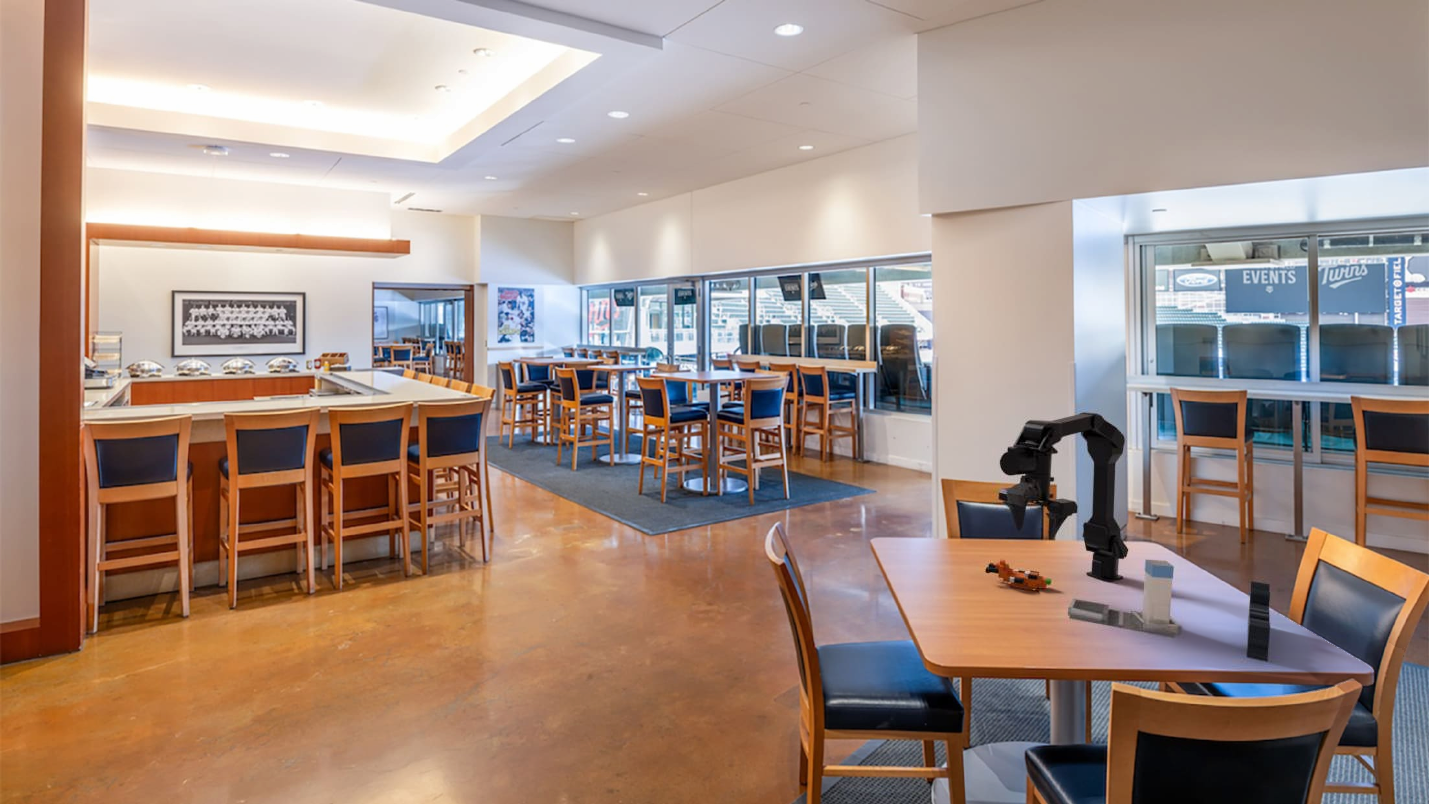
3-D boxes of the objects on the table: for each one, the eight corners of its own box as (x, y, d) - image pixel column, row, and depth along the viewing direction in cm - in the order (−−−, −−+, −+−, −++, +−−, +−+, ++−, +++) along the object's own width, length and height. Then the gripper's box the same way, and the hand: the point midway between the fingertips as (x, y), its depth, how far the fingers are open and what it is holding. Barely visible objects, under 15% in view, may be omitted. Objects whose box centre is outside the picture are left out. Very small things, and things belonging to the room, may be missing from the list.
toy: (991, 554, 192) (1053, 564, 184) (990, 576, 192) (1052, 587, 185) (985, 562, 185) (1049, 572, 177) (984, 585, 186) (1048, 596, 178)
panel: (1172, 622, 162) (1172, 619, 162) (1174, 640, 153) (1175, 636, 153) (1073, 605, 172) (1073, 601, 172) (1069, 620, 163) (1069, 616, 163)
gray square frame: (1130, 619, 164) (1131, 610, 163) (1166, 622, 162) (1167, 613, 162) (1142, 632, 156) (1143, 623, 156) (1180, 636, 155) (1181, 626, 155)
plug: (1141, 621, 162) (1145, 559, 160) (1161, 622, 161) (1166, 560, 159) (1150, 630, 156) (1154, 566, 155) (1171, 632, 156) (1175, 568, 154)
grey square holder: (1072, 607, 171) (1073, 598, 171) (1108, 614, 167) (1108, 605, 167) (1067, 617, 165) (1068, 607, 164) (1104, 624, 161) (1105, 615, 160)
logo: (1247, 623, 163) (1251, 580, 162) (1265, 627, 161) (1269, 583, 160) (1246, 660, 144) (1250, 611, 143) (1267, 664, 142) (1271, 615, 141)
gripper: (984, 468, 182) (981, 529, 183) (1048, 482, 165) (1044, 549, 167) (1015, 465, 187) (1012, 524, 188) (1080, 478, 171) (1077, 543, 172)
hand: (1034, 535), depth 179 cm, fingers open, 9 cm apart
